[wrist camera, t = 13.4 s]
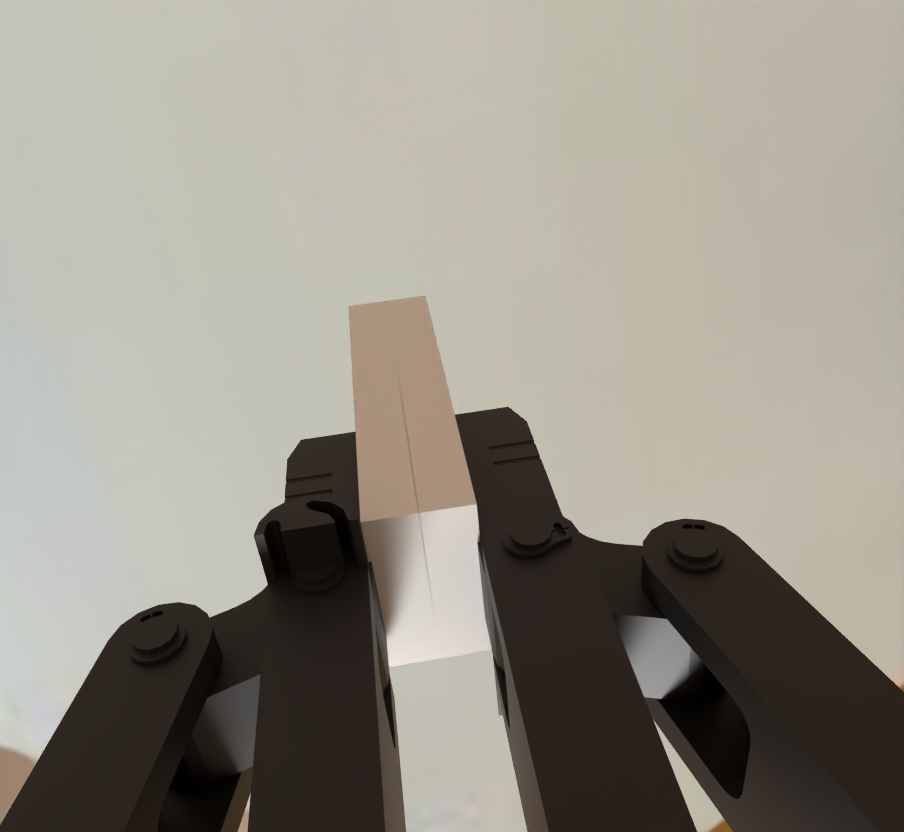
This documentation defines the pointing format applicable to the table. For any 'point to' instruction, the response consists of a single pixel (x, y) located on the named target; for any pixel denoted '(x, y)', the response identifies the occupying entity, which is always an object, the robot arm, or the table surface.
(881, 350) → the table surface
